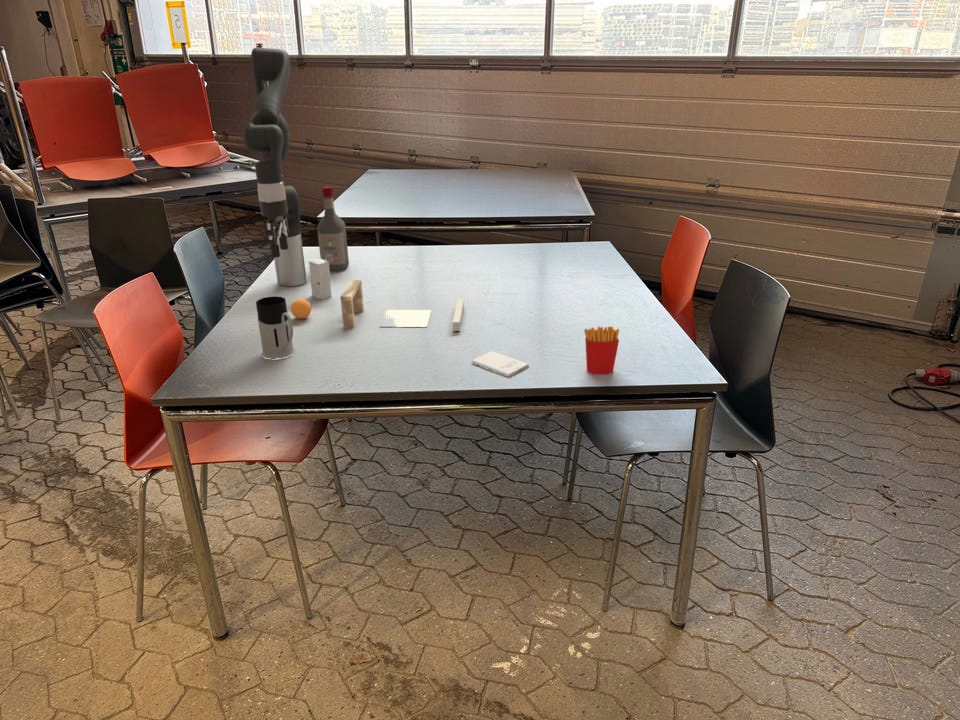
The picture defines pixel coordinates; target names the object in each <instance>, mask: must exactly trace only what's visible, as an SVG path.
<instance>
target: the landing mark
mask: <svg viewBox="0 0 960 720" xmlns="http://www.w3.org/2000/svg"><path fill="white" fill-rule="evenodd" d="M432 311H433V310H432V309H387V310H386V312H385V314H386V319H387V315H388V319H389V316H390V319H391V318H393V320H394V318H395V320H394V322H395V323H394V324H395V325H397V326H396V327H395V328H402V327H428V324H429V321H430V317H431V315H430V314H432ZM384 317H385V315H384V316H383V318H384ZM396 321H397V322H396ZM395 325H394V326H395Z"/></svg>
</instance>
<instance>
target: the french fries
mask: <svg viewBox="0 0 960 720" xmlns="http://www.w3.org/2000/svg"><path fill="white" fill-rule="evenodd" d="M619 332H620V329H619V328H616V329H614V326H608V327H603V326H597V329H596V328H594V327H590V328H585V329H584V335H585V337H584V338H585V340H584V341H585V359H586V371H588V372H589V373H588V372H587V373H588V374H590V373H592V374H591V375H610V373H611V374H612V372H614V369H615V364H616V357H617V353H618V349H619V348H618V347H619V343H620V340H619V338H618V337H619Z"/></svg>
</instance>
